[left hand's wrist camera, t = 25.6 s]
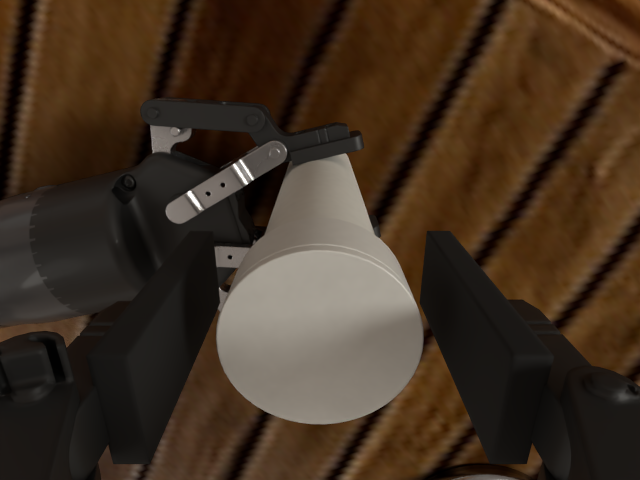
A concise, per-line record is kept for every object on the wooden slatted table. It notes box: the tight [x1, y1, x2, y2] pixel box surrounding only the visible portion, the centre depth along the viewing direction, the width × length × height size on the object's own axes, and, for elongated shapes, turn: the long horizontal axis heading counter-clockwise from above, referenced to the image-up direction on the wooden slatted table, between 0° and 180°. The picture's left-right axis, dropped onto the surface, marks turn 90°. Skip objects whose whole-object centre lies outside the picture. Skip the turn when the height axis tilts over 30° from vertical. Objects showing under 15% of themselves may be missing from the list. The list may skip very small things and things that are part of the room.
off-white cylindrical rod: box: [265, 153, 375, 235], centre depth 20 cm, size 4×4×18 cm
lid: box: [216, 218, 424, 424], centre depth 11 cm, size 5×5×2 cm
